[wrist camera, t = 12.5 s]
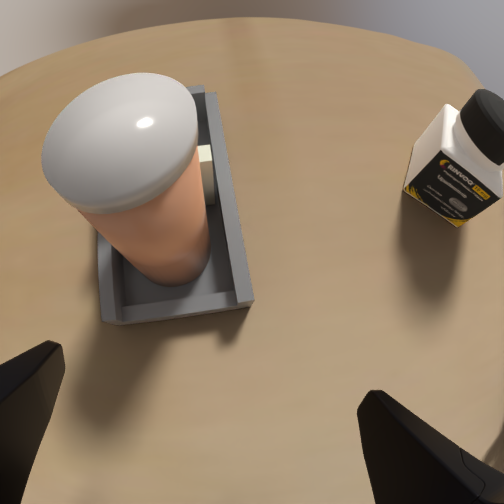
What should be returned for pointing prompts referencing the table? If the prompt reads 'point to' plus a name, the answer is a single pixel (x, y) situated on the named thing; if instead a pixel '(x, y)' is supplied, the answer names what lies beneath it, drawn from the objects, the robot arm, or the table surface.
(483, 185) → the medicine bottle
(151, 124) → the dome-lidded peach canister
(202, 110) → the tray
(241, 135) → the table surface
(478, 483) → the robot arm
